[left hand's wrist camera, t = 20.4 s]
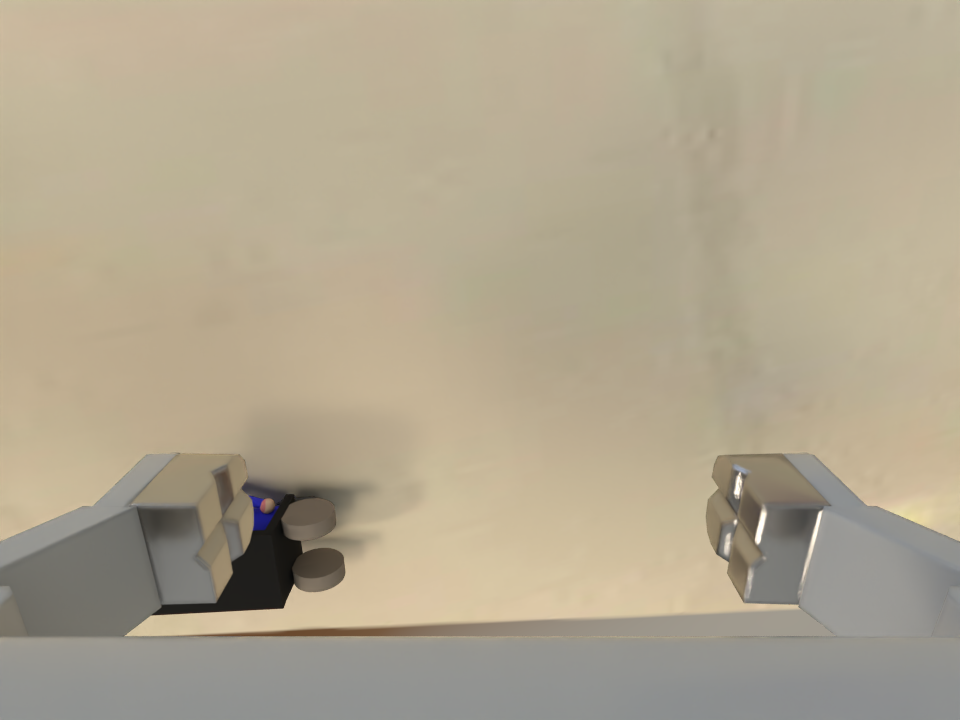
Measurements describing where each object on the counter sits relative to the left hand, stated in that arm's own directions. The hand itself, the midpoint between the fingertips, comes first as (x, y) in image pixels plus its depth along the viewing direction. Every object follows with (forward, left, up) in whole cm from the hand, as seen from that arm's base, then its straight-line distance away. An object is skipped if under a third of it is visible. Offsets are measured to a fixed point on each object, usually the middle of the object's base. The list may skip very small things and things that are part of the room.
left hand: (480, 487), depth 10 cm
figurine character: (-25, +11, -29) cm, 40 cm away
